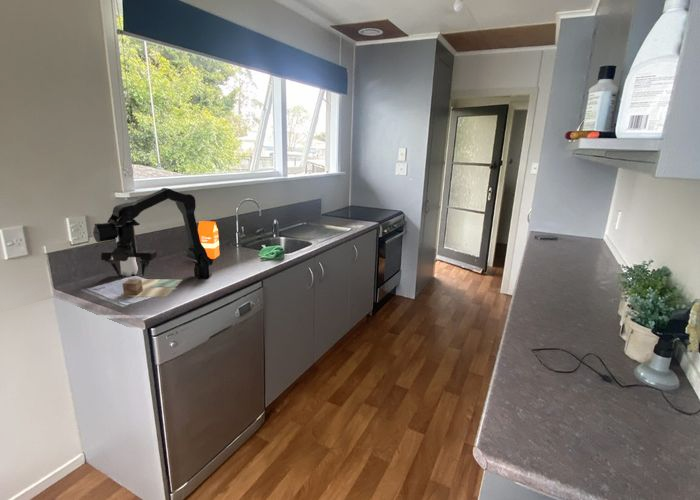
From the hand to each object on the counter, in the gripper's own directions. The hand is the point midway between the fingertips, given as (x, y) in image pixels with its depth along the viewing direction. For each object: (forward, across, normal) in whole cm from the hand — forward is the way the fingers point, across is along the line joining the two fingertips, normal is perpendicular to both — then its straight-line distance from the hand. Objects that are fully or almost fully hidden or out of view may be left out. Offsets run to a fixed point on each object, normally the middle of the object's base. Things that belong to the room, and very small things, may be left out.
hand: (131, 275), depth 149 cm
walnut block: (+8, 0, 0) cm, 8 cm away
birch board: (+8, +5, +6) cm, 11 cm away
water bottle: (+9, -13, +25) cm, 29 cm away
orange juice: (+9, +15, +56) cm, 59 cm away
